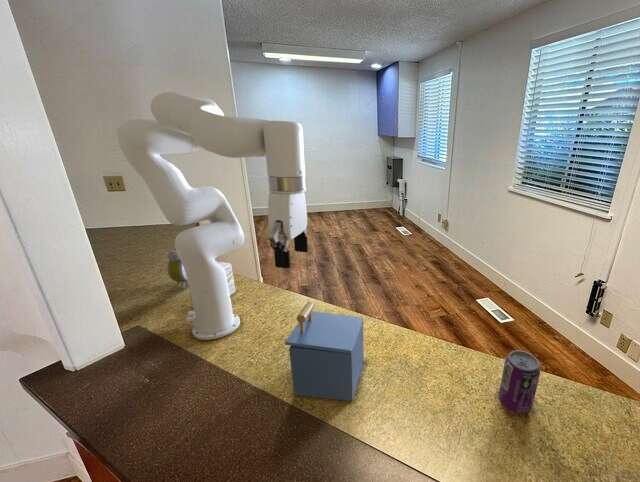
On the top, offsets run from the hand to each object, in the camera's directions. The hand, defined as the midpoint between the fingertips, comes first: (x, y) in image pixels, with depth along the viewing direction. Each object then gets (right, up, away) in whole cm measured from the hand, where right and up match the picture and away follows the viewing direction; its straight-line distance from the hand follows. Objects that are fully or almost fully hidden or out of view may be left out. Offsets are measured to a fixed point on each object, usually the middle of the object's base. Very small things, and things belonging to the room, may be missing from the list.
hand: (292, 258), depth 70 cm
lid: (+8, -17, 0) cm, 19 cm away
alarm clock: (-57, -12, +48) cm, 76 cm away
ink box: (-40, -15, +40) cm, 59 cm away
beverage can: (+50, -33, -1) cm, 60 cm away
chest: (+8, -29, +4) cm, 31 cm away
